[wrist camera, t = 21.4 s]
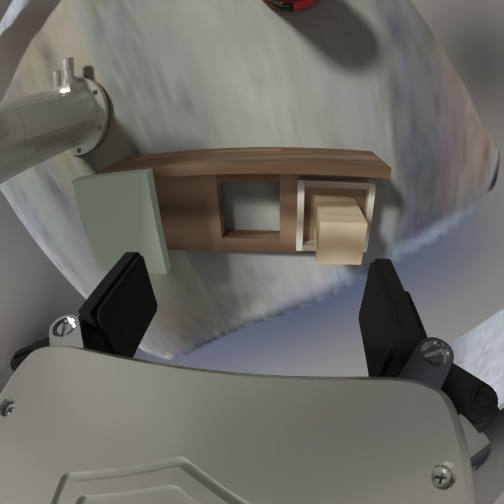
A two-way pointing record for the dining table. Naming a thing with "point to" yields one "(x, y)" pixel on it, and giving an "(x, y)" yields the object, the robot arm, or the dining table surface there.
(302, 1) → the canned food
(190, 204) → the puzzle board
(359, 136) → the dining table surface
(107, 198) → the sliding cover
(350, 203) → the beech block
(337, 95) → the dining table surface
